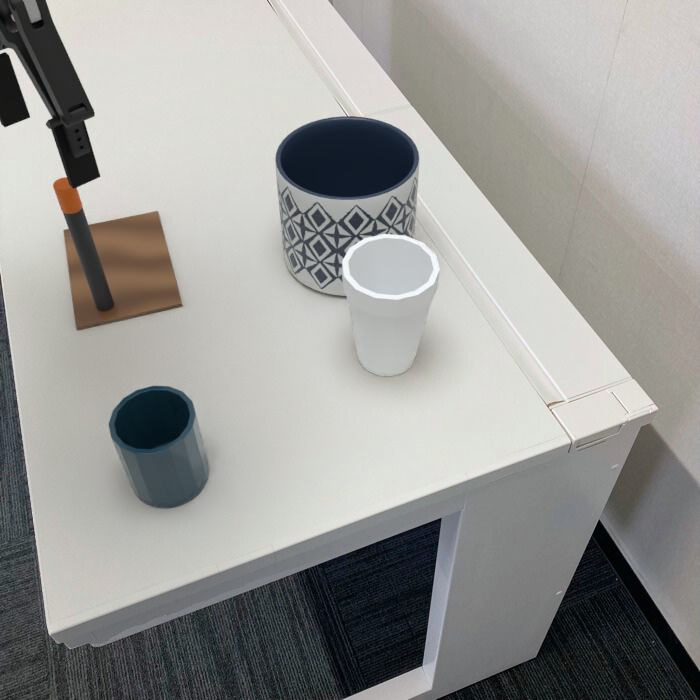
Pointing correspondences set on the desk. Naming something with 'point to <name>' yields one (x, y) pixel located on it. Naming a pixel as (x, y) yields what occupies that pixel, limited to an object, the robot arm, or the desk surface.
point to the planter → (342, 193)
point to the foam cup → (389, 299)
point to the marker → (83, 243)
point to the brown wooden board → (125, 270)
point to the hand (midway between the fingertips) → (49, 150)
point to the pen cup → (160, 445)
